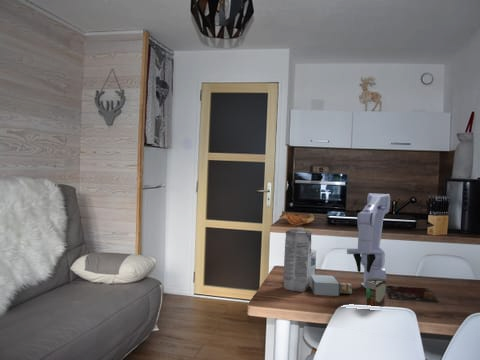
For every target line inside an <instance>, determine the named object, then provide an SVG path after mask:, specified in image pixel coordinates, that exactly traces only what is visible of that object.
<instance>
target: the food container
mask: <svg viewBox="0 0 480 360" xmlns="http://www.w3.org/2000/svg"><path fill="white" fill-rule="evenodd" d="M387 284H388V283H387V278H386V279H381V278H369V279H367V280H366V281H365V286H366V288H365V290H366V292H365V293H366V306H367V305H371V306H382V307H383V306H385V304H386V302H385V301H386V293H387V291H386V290H387Z"/></svg>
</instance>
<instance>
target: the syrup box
mask: <svg viewBox="0 0 480 360" xmlns="http://www.w3.org/2000/svg"><path fill="white" fill-rule="evenodd" d="M316 261H317V251H316V250H315V249H311V262H310V278H311V275H316V266H317V264H316V263H317V262H316ZM309 283H310V281H309Z"/></svg>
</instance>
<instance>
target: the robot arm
mask: <svg viewBox="0 0 480 360" xmlns="http://www.w3.org/2000/svg"><path fill="white" fill-rule="evenodd" d="M366 202H367V204H366V205H365V206H364V208H363V209H362V211H360V212H358V213H357V216H356V217H357V219H356V221H357V230H358V235H357V237H358V238H357V248H347V249H346V254H347V255H353V258H354V261H355V263H356V269H357V272H358V273H361V271H362V270H361V266H363V282H361V283H360V284H361V286H363V288H365V289H366V286H365V281H366V280H367V279H369V278H381V279H387V272H386V271H387V270H386V268H384V267H385V263H386V262H385V261H386V259H385V257H386V254H385V251H384V250H383V249H382V248H381V247H380V245H381V239H382V238H381V237H382V232H383V231H382V230H383V225H384V224H383V222H384V219H385V218H384V217H385V215H386V214H388V213H389V212H390V209H391V208H390V207H391V195H390V194H389V193H386V194H385V193H371V192H369V193H368V194H367V199H366Z"/></svg>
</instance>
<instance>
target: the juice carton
mask: <svg viewBox="0 0 480 360" xmlns="http://www.w3.org/2000/svg"><path fill="white" fill-rule="evenodd" d="M284 239H285V240H284V241H285V242H284V259H283V261H284V262H283V287H284V290H287V291H292V292H299V293H304V292H305V291H306V290H308V288H309V286H310V282H309V281H310V262H311V250H312V232H311V230H304V227H296V229H294V228H293V229H289V230H286V231H285V238H284Z"/></svg>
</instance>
